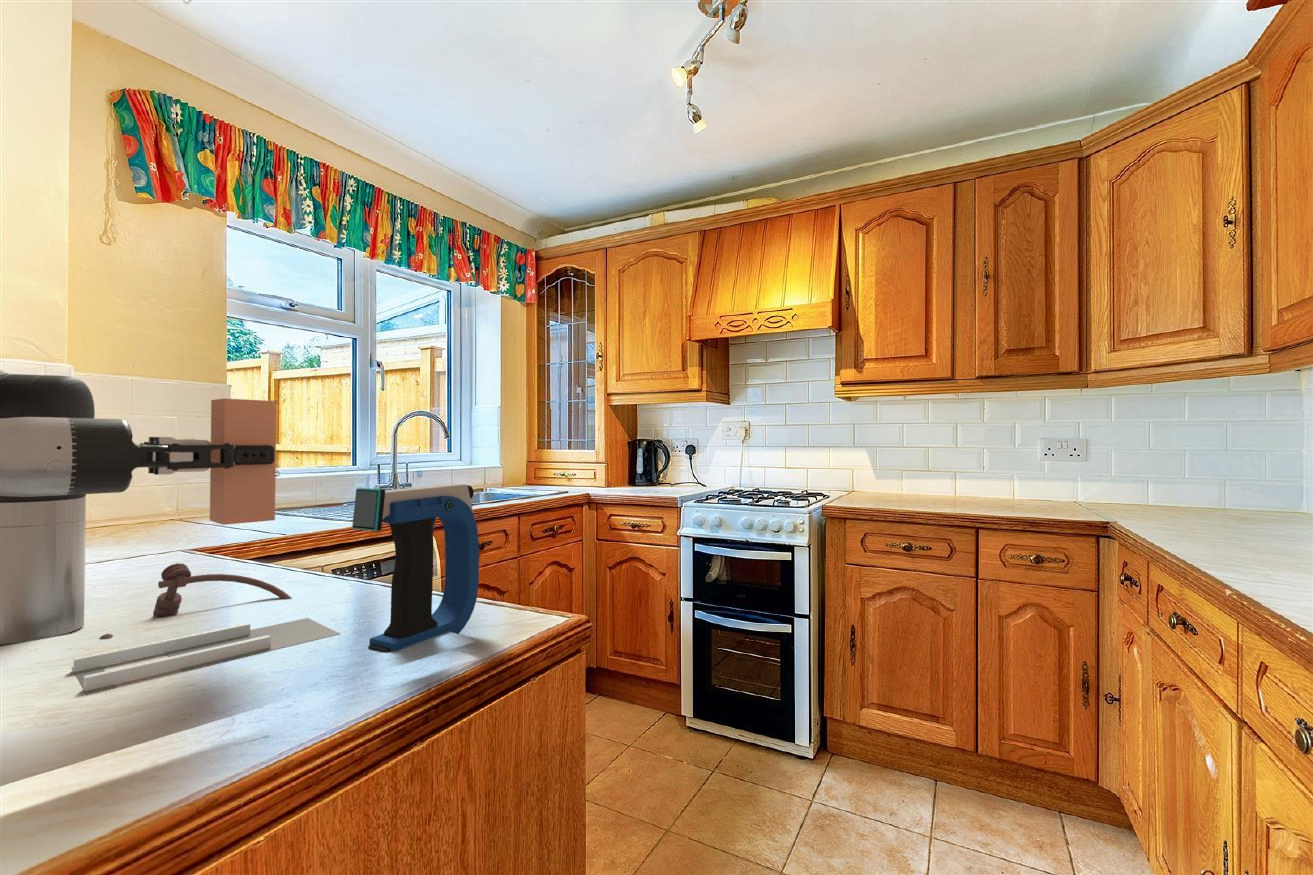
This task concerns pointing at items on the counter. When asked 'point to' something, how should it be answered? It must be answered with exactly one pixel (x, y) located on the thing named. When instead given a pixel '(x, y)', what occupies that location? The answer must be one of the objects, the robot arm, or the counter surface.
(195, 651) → the channel
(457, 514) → the handheld scanner
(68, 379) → the robot arm
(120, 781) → the counter surface
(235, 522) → the terracotta block
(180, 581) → the toilet paper hanger
